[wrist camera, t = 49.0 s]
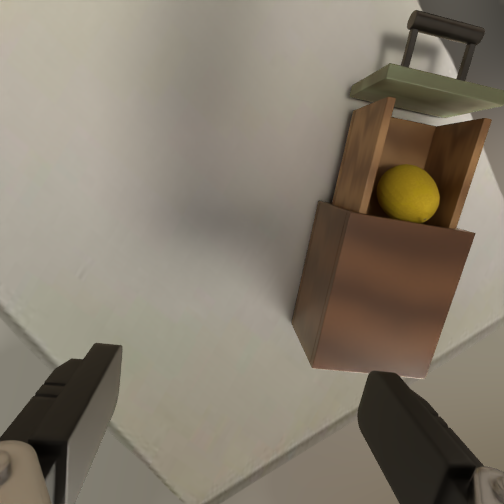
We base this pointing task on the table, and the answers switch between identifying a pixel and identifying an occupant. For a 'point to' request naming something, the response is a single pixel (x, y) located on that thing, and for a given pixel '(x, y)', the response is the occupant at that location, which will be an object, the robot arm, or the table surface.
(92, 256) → the table surface
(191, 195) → the table surface
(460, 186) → the drawer
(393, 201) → the lemon
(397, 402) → the robot arm
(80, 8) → the table surface
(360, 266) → the cabinet
